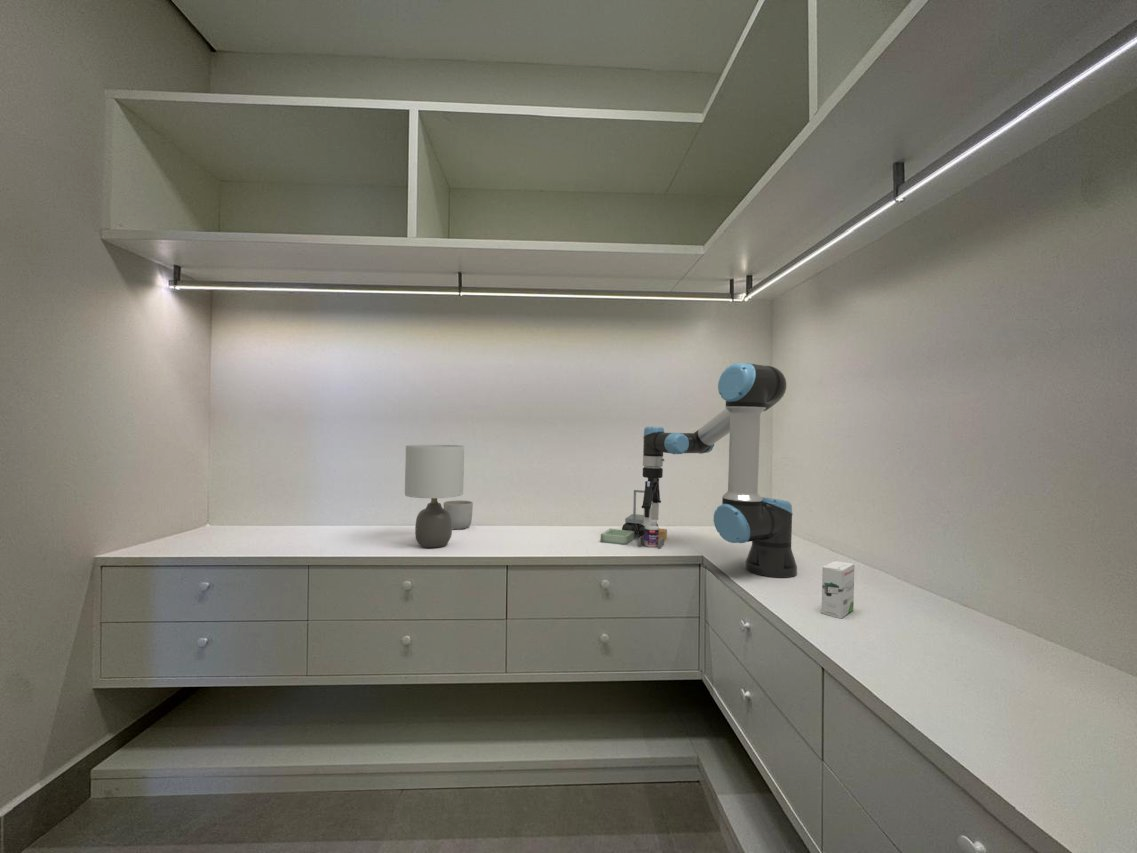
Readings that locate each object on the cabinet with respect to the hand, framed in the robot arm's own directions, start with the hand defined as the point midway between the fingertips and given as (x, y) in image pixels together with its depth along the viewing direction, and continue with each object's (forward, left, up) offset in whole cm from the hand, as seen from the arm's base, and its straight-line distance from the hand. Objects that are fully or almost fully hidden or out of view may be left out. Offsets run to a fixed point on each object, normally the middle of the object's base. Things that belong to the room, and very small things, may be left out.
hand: (651, 522), depth 190 cm
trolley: (+16, +8, -9) cm, 20 cm away
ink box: (-49, -57, -9) cm, 76 cm away
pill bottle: (0, 0, -9) cm, 9 cm away
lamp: (-36, +73, -9) cm, 82 cm away
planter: (-5, +83, -9) cm, 84 cm away
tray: (+3, +14, -9) cm, 16 cm away
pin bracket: (0, 0, -9) cm, 9 cm away
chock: (+12, -1, -9) cm, 15 cm away
